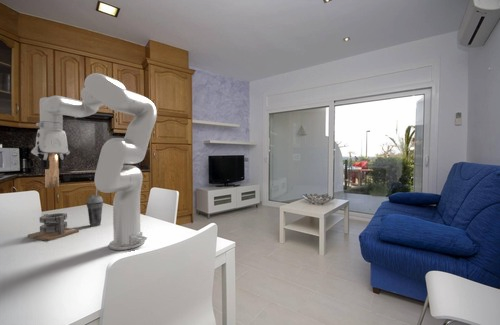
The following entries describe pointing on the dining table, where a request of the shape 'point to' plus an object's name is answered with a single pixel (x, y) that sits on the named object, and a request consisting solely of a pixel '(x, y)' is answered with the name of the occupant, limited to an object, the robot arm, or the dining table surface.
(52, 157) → the copper tube
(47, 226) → the collar stand
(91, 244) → the dining table surface
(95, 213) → the beverage cup
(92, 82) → the robot arm
